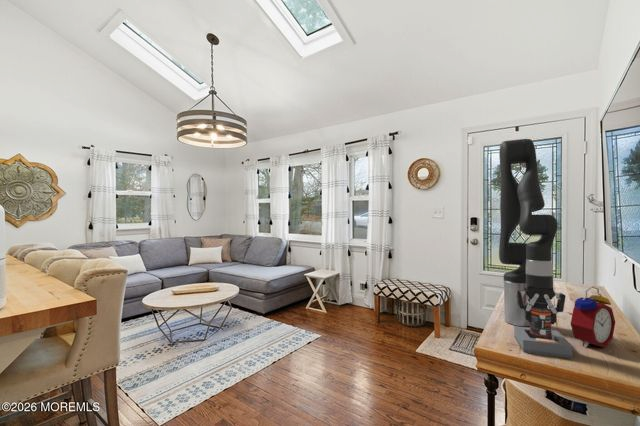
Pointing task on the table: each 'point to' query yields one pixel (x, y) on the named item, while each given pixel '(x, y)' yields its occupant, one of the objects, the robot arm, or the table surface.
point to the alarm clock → (593, 320)
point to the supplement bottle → (540, 320)
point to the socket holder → (543, 343)
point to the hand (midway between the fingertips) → (540, 322)
